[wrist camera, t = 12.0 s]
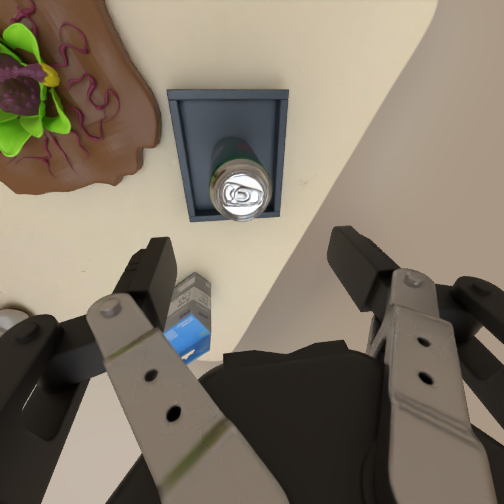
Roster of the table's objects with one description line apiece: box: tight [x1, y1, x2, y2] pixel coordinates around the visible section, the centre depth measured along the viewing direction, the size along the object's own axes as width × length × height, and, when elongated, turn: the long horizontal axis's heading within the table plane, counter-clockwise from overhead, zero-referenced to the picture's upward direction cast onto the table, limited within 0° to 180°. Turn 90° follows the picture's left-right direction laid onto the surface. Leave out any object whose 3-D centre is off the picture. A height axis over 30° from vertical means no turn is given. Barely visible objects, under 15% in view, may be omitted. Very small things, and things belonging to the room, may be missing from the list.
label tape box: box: [162, 273, 211, 365], centre depth 33 cm, size 9×4×12 cm, turn 128°
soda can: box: [209, 137, 272, 222], centre depth 22 cm, size 5×5×12 cm
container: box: [167, 90, 289, 222], centre depth 26 cm, size 14×12×3 cm
